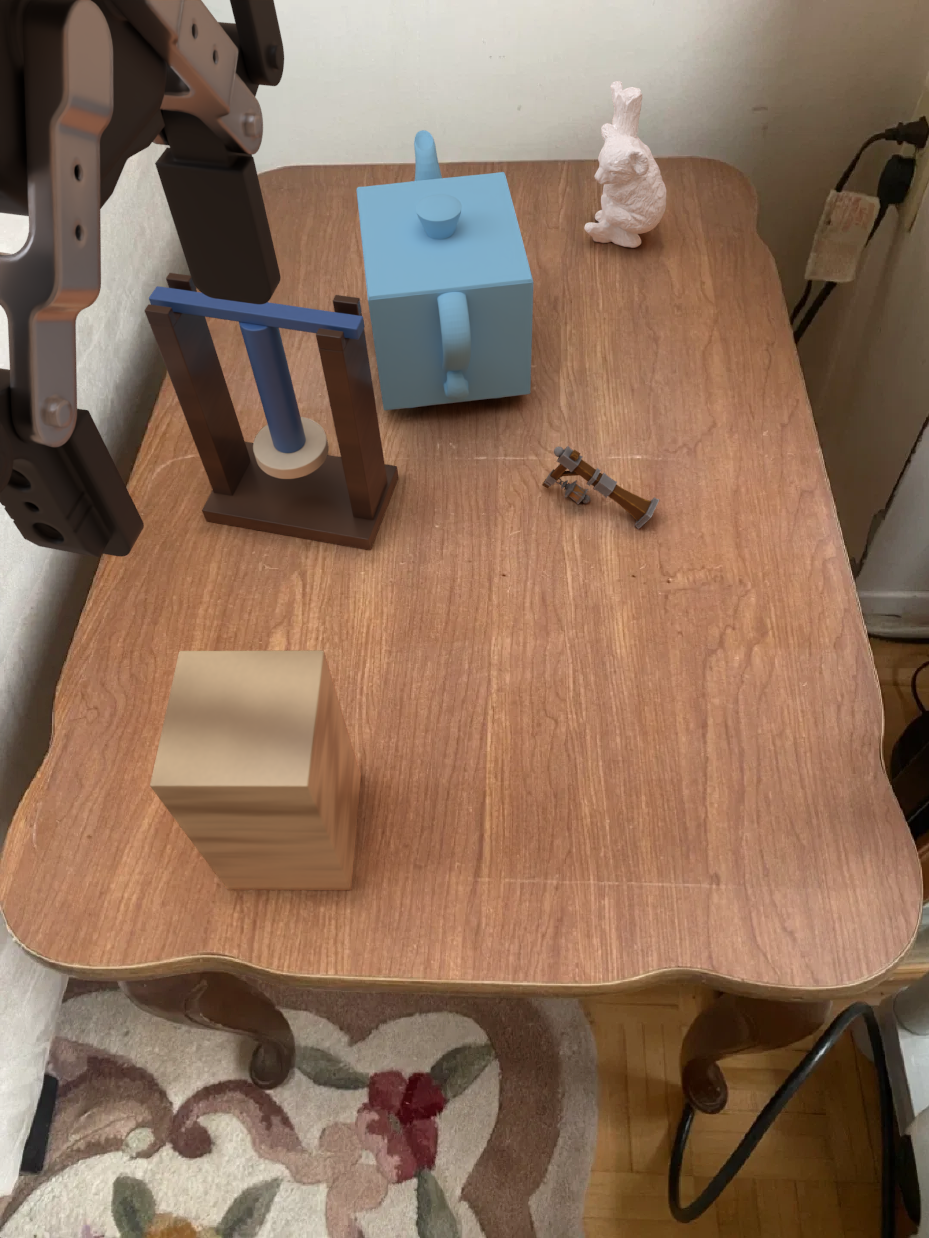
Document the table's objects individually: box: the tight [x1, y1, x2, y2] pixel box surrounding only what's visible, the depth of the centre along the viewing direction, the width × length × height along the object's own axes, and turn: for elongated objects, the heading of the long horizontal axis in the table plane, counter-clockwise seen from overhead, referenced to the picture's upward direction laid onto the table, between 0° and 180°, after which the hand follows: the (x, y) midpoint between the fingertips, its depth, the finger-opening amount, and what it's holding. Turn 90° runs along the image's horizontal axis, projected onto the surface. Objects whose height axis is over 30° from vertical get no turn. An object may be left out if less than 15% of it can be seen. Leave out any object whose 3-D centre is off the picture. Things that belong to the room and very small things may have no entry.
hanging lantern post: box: [541, 445, 660, 530], centre depth 67 cm, size 2×8×4 cm, turn 65°
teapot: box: [356, 129, 535, 411], centre depth 72 cm, size 22×11×14 cm, turn 7°
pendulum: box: [148, 285, 366, 479], centre depth 60 cm, size 5×13×12 cm, turn 75°
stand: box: [144, 272, 399, 551], centre depth 62 cm, size 7×12×17 cm, turn 76°
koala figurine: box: [583, 80, 668, 249], centre depth 80 cm, size 8×7×12 cm
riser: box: [149, 649, 362, 891], centre depth 49 cm, size 7×7×14 cm
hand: (175, 405), depth 23 cm, fingers open, 8 cm apart
